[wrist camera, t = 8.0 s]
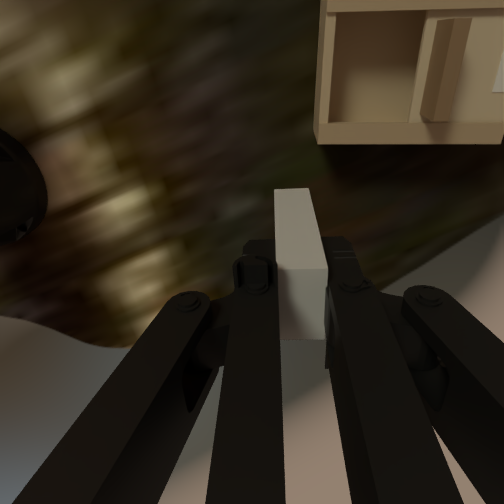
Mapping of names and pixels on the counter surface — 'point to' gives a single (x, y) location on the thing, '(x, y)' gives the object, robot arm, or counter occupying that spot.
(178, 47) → the counter surface
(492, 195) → the counter surface
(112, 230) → the counter surface
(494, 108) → the lid
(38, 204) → the robot arm
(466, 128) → the box
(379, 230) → the counter surface
